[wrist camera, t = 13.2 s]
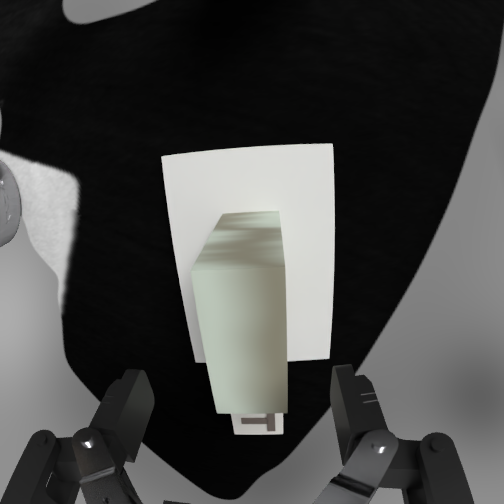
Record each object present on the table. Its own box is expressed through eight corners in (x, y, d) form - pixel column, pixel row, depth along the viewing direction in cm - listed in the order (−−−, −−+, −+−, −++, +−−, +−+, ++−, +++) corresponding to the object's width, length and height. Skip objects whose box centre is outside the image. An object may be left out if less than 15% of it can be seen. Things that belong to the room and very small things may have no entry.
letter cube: (238, 401, 31) (234, 435, 26) (234, 370, 29) (228, 405, 25) (282, 400, 30) (283, 435, 26) (282, 369, 29) (282, 405, 24)
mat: (197, 357, 29) (195, 362, 28) (164, 155, 22) (161, 156, 22) (327, 353, 28) (329, 358, 27) (330, 143, 21) (332, 144, 21)
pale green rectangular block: (234, 321, 26) (216, 413, 17) (222, 213, 23) (190, 270, 14) (283, 319, 26) (287, 412, 16) (279, 210, 23) (285, 267, 13)
